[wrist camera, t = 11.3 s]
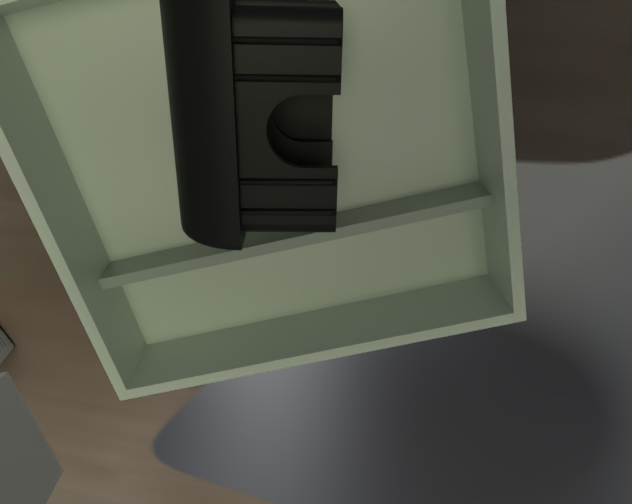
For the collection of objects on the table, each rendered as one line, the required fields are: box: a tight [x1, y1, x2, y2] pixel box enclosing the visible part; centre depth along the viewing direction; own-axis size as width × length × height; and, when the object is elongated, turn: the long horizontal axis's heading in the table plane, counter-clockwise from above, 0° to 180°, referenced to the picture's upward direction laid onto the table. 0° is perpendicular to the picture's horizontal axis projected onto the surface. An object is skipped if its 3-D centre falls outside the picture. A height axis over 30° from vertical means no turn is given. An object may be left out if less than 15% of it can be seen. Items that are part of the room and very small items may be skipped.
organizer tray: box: [0, 0, 526, 401], centre depth 26 cm, size 22×20×5 cm
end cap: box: [159, 0, 343, 251], centre depth 24 cm, size 10×7×7 cm
